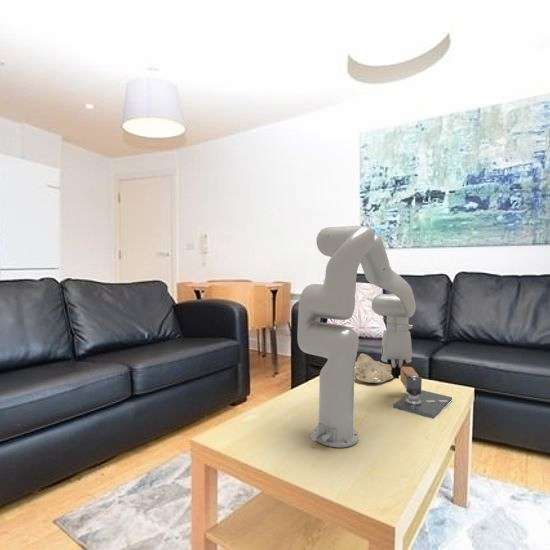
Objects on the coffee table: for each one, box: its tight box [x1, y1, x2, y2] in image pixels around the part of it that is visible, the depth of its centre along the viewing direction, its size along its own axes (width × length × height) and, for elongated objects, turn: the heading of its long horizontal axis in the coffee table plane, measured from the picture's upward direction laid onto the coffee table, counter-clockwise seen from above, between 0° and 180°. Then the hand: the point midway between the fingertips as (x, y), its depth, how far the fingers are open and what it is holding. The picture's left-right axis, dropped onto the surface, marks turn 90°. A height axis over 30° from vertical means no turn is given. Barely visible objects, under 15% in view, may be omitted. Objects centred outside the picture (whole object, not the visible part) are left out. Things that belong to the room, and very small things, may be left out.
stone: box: [354, 353, 397, 384], centre depth 163 cm, size 30×10×15 cm
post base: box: [392, 389, 453, 419], centre depth 132 cm, size 20×13×4 cm
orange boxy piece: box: [399, 366, 423, 395], centre depth 135 cm, size 15×5×6 cm, turn 173°
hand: (395, 377), depth 139 cm, fingers closed
